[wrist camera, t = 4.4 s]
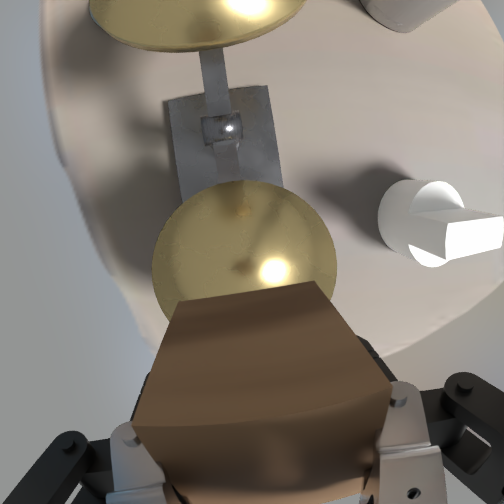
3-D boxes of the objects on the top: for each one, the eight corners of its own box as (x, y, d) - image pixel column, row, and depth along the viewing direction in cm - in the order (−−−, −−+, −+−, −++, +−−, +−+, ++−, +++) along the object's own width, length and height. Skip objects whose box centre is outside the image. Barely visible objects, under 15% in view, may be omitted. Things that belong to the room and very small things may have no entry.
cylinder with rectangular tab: (378, 258, 31) (440, 295, 19) (375, 180, 29) (445, 184, 17) (434, 248, 31) (498, 276, 20) (433, 178, 29) (503, 184, 18)
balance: (150, 29, 23) (101, -58, 7) (264, 12, 23) (289, -87, 7) (192, 310, 31) (164, 418, 15) (307, 291, 31) (368, 385, 15)
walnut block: (178, 301, 10) (130, 425, 4) (313, 280, 10) (393, 386, 4) (207, 399, 11) (200, 516, 6) (318, 382, 11) (362, 491, 6)
